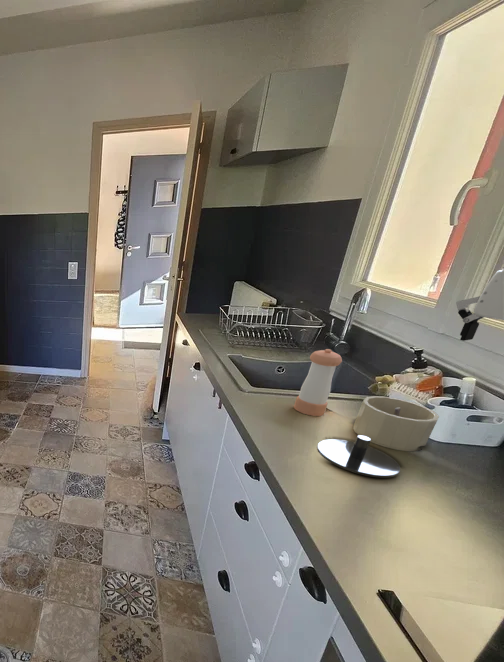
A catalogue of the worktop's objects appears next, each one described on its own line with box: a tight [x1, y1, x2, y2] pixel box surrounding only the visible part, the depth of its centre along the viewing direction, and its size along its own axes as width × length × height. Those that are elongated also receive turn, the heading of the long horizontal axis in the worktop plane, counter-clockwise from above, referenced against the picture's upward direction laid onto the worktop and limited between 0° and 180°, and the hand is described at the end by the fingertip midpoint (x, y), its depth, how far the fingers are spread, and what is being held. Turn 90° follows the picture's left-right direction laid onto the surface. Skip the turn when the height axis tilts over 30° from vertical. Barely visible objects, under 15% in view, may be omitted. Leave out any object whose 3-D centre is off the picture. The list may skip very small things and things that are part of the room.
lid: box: [316, 434, 401, 479], centre depth 90 cm, size 15×15×6 cm
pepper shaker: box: [293, 348, 343, 417], centre depth 110 cm, size 7×7×19 cm
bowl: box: [352, 395, 440, 452], centre depth 98 cm, size 14×14×8 cm
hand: (496, 345), depth 84 cm, fingers open, 9 cm apart
